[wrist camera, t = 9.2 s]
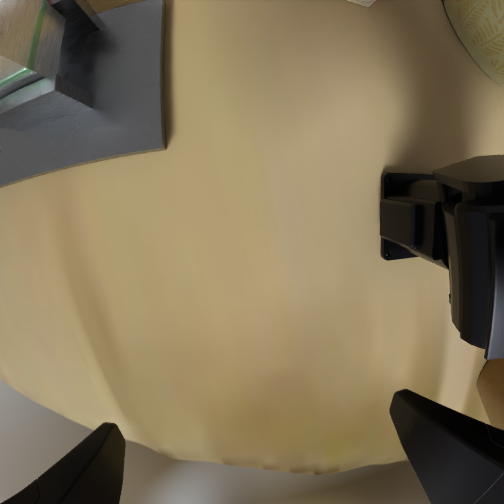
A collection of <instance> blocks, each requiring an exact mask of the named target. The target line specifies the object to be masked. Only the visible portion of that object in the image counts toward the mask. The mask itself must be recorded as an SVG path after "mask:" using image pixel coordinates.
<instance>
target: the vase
mask: <svg viewBox="0 0 504 504" xmlns="http://www.w3.org/2000/svg"><path fill="white" fill-rule="evenodd" d="M443 1H444V6H445V10H446V12H447V15H448V18H449V20H450V22H451V24H452V26H453V28H454V30H455V32H456V34H457V35H458V37H459V39H460V41H461V42H462V44H463V45H464V47H465V48H466V50H467V51H468V53H469V54H470V55H471V57H472V58H473V59H474V61H475V62H476V63H477V64H478V66H479V67H480V68H481V69H482V70H483V71H484V72H485V73H486V74H487V75H488V76H489V77H490V78H491V79H492V80H493V81H495V82H496V83H498V84H499V85H501V86H503V87H504V0H443Z"/></svg>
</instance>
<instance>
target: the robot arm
mask: <svg viewBox="0 0 504 504" xmlns="http://www.w3.org/2000/svg"><path fill="white" fill-rule="evenodd" d="M387 177H389V182H387V180H386V179H387ZM380 235H381V257H382V258H383V259H385V260H396V259H404V258H412V257H422V258H424V259H426V260H428V261H430V262H432V263H435V264H437V265H439V266H441V267H443V268H445V269H447V270H449V278H450V294H449V303H450V304H451V315H452V322H453V323H454V325H455V326H456V328H457V329H458V331H459V332H460V337H461V339H463V340H464V341H466V342H467V343H469V344H471V345H474V346H476V347H479V348H482V349H485V355H484V358H485V359H487V360H489V359H498V358H504V155H489V156H477V157H473V158H470V159H467V160H464V161H461V162H458V163H455V164H452V165H450V166H447V167H444V168H441V169H438V170H435V171H433V175H426V174H407V173H384V174H383V175H382V177H381V202H380ZM387 251H389V254H388V255H387V256H386V252H387ZM390 415H391V418H392V421H393V423H394V426H395V428H396V431H397V434H398V436H399V439H400V442H401V444H402V447H403V449H404V451H405V453H406V455H407V457H408V459H409V461H410V463H411V465H412V467H413V468H414V470H415V472H416V474H417V476H418V478H419V480H420V482H421V484H422V486H423V488H424V490H425V492H426V494H427V496H428V498H429V500H430V502H431V504H504V430H502V429H499V428H496V427H493V426H491V425H488V424H485V423H483V422H481V421H478V420H476V419H474V418H471V417H469V416H466V415H464V414H462V413H459V412H457V411H455V410H452V409H450V408H448V407H445V406H443V405H441V404H439V403H436V402H434V401H432V400H430V399H428V398H425V397H423V396H421V395H419V394H417V393H415V392H412V391H410V390H408V389H402V390H399V391H396V392H395V393H394V395H393V399H392V402H391V406H390ZM125 445H126V444H125V439H124V437H123V435H122V433H121V431H120V430H119V428H118V426H117V425H116V424H115V423H108V422H105V423H103V424H101V425H100V426H99V427H98V428H97V429H96V430H94V431H93V432H92V433H91V434H90V435H89V436H88V437H86V438H85V439H84V440H83V441H82V442H81V443H79V444H78V445H77V446H76V447H75V448H73V449H72V450H71V451H70V452H69V453H68V454H66V455H65V456H64V457H63V458H61V459H60V460H59V461H58V462H57V463H55V464H54V465H53V466H52V467H51V468H49V469H48V470H47V471H46V472H44V473H43V474H42V475H41V476H40V477H38V479H36V480H34V481H33V482H32V483H31V484H30V485H28V486H27V487H25V488H24V489H23V490H22V491H20V492H18V493H17V494H15V495H14V496H12V497H11V498H9V499H7V500H6V501H4V502H2V503H0V504H119V502H120V495H121V490H122V484H123V473H124V457H125Z"/></svg>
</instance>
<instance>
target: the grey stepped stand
mask: <svg viewBox="0 0 504 504" xmlns="http://www.w3.org/2000/svg"><path fill="white" fill-rule="evenodd" d="M47 1H48V2H49V3H48V4H50V5H51V6H52V7H53V8H54V9H55V10H56V11H57V12H58V13H59V14H60V15H61V16H63V17H64V18H65V19H66V23H65V28H64V33H63V38H62V44H61V50H60V57H59V64H58V73H57V74H54V75H52V76H49V77H47V78H44V79H42V80H40V81H37V82H35V83H33V84H31V85H28V86H26V87H24V88H22V89H20V90H18V91H16V92H14V93H12V94H10V95H8V96H6V97H4V98H2V99H0V188H2V187H5V186H8V185H11V184H14V183H17V182H20V181H23V180H27V179H30V178H34V177H37V176H40V175H44V174H48V173H51V172H55V171H59V170H63V169H67V168H71V167H75V166H80V165H84V164H88V163H93V162H98V161H103V160H107V159H113V158H118V157H123V156H129V155H135V154H141V153H147V152H154V151H161V150H166V141H165V120H164V25H165V6H166V5H165V2H164V0H146V1H141V2H137V3H133V4H129V5H125V6H121V7H117V8H114V9H110V10H107V11H104V12H100V13H97V14H96V12H95V11H94V10H93V9H92V7H91V6H90V5H89V4H88V2H87V1H86V0H47Z"/></svg>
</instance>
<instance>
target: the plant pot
mask: <svg viewBox="0 0 504 504" xmlns="http://www.w3.org/2000/svg"><path fill="white" fill-rule="evenodd" d="M477 389H478V392H479V394H480V397H481V400H482V403H483V405H484V408H485V411H486V413H487V416H488V418H489V421H490V423H491V425H492V426H493V427H496V428H499V429H502V430H504V358H498V359H489V361H488V362H487V364H486V365H485V367H484V368H483V370H482V372H481V374H480V376H479V378H478V382H477Z"/></svg>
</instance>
